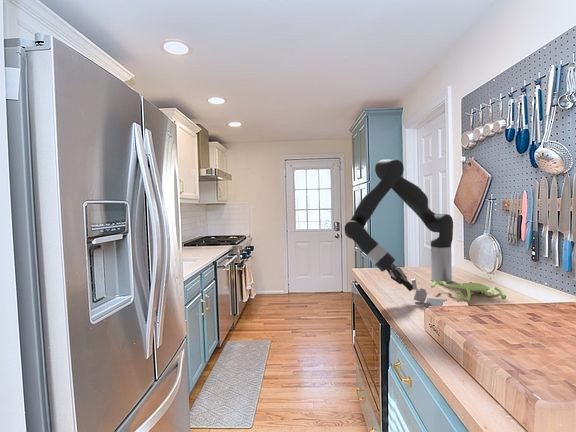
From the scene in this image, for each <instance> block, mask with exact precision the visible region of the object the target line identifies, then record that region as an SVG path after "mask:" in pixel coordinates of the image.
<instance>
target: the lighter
mask: <svg viewBox="0 0 576 432" xmlns="http://www.w3.org/2000/svg"><path fill="white" fill-rule="evenodd" d="M411 284H412V286H413V290H412V291H414V290H415V294H414V296H413V300H414V301H416V302H419V303H422V304H425V303H426V302H425V301H426V300H427V299H426V298H427V295H428V292H427V290H426V288H423V287H419V288H418V286H417V281H416V278H411Z"/></svg>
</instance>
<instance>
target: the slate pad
mask: <svg viewBox="0 0 576 432" xmlns="http://www.w3.org/2000/svg"><path fill="white" fill-rule="evenodd" d="M426 298H427V297H426ZM447 300H448V299H445V298H444V299H443V298H433V297H432V298H431V297H428V298H427V299H426V302H425V308H428V307H429V306H442V305H443V302H445V301H447Z"/></svg>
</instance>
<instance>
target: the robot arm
mask: <svg viewBox="0 0 576 432" xmlns="http://www.w3.org/2000/svg"><path fill="white" fill-rule="evenodd" d="M374 167H375V168H374V171H375V174H376V176H377V178H378V179H379V180H380V181H379V182H378V183H377V184H376V186H374V188H373V189H371V190H369V192H368V193H367V194H366V195H365V196H364V197H363V198H362V199H361V201H360V202H359V204H358V206H356V208H355V210H354V214H353V215H352V217H351V219H350V220H349V221H348V222H346V223H345V225H344V234H345V236H346V237H347V238H348V239H351V240H353V242H355V244H356V245H357V247H358V248H359V249H360V250H361V251H362V252H363V253H364V255H366V257H367V258H368V259H369V261H371V263H372V264H374V265H375V266H376V268H378V270H380V272H381V273H382V272H385V271H387V272H388V275H389V276H390V279H392V281H395V282H396V283H397V284H399V285H402V286H403V287H405V288H406V289H407V290H408V291H409V292H411V291H414V290H413V286H412V282H410V281H409V280H408V277H407V276H406V274H405V272H404V271H403V270H402V269H401V267H399V266H397V265H395V264H394V262H395V261H396V258H394V256H392V254H390V252H389V251H387V250H386V249H385V248H384V247H383V246H382V245H380V243H378V242H377V241H376V240H375V239H374V238H373V237H372V236H371V235H370V234H369V233H368V231H367V230H366V229H365V226H366V224H367V222H368V221H369V219H371V218H372V215H373V213H374V212H375V210H376V209H377V208H378V206H379V204H380V203H381V201H382V200H383V199H384V197H385V196H386V195H387V194H388V193H389V191H390V190H392V191H394V193H395V194H397V196H398V197H399V198H400V199H401V200H402V201H403V202H404V203H405V204H406V205H407V207H408V208H410V210H412V211H413V212H414V213H415V214H416V215H417V217H418V218H419V219H420V220H421V221H422V223H423V224H424V225H425V227H426V228H427V229H428V231H431V232H433V233H439V234H438V237H437V238H435V239H432V240H430V268H431V269H430V272H431V273H430V275H431V281H432V282H435V281H444V282H446V283H447V284H448V283H452V282H453V270H452V269H453V268H452V266H453V265H452V260H453V259H452V243H453V241H454V239H453V238H454V236H453V235H454V221H453V217H452V216H451V215H450V214H447V213H435V212H434V211H432V210H431V209H430V207H429V199H428V196H427V195H426V193H425V192H424V191H423V190H422V188H420V186H418V185H416V184H415V183H413V182H412V181H409V180H408V179H406V178H404V177H403V174H404V170H405V168H404V163H403V162H402V161H401V160H399V159H388V158H387V159H380V160H379V161H378V162H377V163H376V164H375V166H374Z"/></svg>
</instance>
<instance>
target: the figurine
mask: <svg viewBox="0 0 576 432" xmlns="http://www.w3.org/2000/svg"><path fill="white" fill-rule="evenodd" d="M432 282H433V283H432V284H431V286H430V288H431V289H434V288H435V287H436V285H439V284H440V285H443V286H444V287H446V288H456V289H457V288H458V289H463V290H466V293H467V297H465V296H464V293H462V292H461V291H460V290H455V294H456V296H457V297H458V298H459V301H465V300H466V301H467V302H470V299H471V297H472V295H473V294H474V293H477V295H479V294H481V292H482V294H485V295H486V296H488V297H492V296H493V295H494V294H495V291H496V292H498V296H499V297H501V298H506V293H504V292H503V290H502V289H500V288H498V287H495V286H494V287H492V289H491V287H490V286H489V285H487V284H483V283H480V282H472V281H470V282H465V283H461V284H448V283H446V282H444V281H435V282H434V281H432ZM490 289H491V292H490V293H489V292H488V291H489V290H490ZM460 295H461V297H462V299H461V297H460Z"/></svg>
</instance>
